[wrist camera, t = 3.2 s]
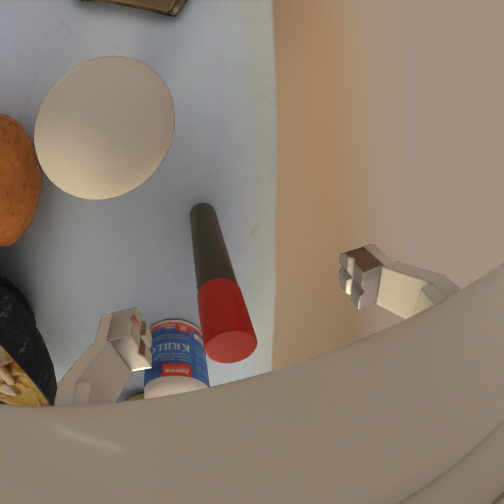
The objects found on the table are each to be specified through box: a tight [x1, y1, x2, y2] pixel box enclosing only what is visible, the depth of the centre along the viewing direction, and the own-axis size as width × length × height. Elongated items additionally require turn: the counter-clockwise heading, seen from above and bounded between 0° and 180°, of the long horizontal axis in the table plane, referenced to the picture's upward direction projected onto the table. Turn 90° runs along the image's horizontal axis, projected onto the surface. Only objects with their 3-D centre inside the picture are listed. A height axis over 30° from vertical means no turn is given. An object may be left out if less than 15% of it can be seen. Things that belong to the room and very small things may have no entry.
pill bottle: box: [144, 320, 210, 399], centre depth 21 cm, size 6×5×10 cm
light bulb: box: [34, 56, 175, 200], centre depth 11 cm, size 6×6×10 cm
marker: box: [190, 203, 257, 363], centre depth 14 cm, size 2×2×12 cm
